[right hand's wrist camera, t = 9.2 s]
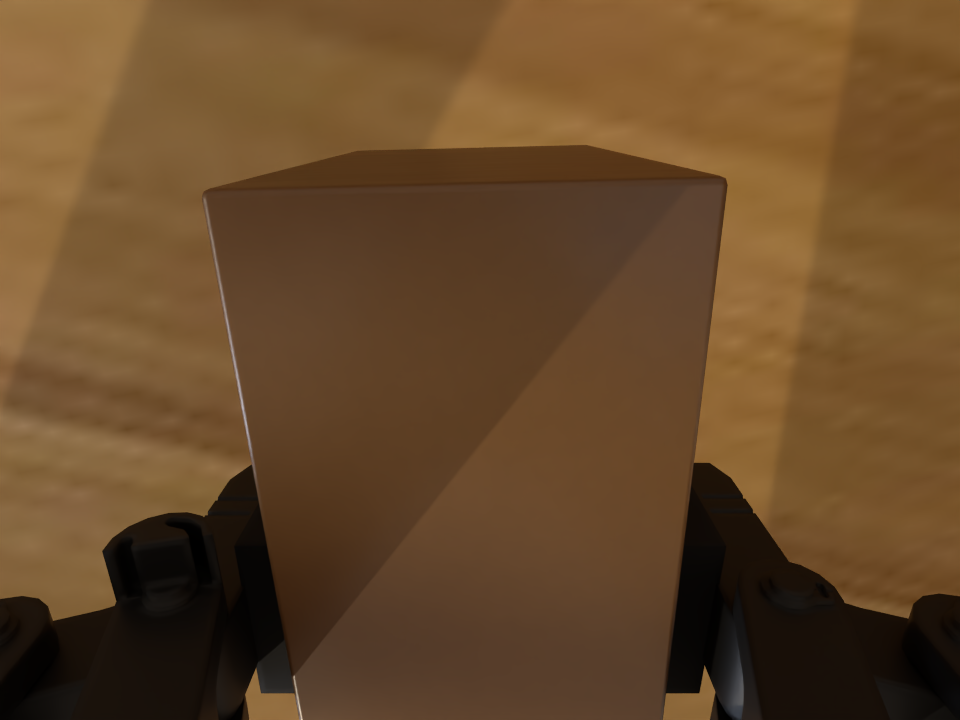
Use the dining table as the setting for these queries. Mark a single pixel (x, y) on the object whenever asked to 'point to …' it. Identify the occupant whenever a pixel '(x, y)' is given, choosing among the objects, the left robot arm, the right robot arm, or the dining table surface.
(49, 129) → the dining table surface
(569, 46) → the dining table surface
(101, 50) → the dining table surface
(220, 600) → the right robot arm
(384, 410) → the bar
